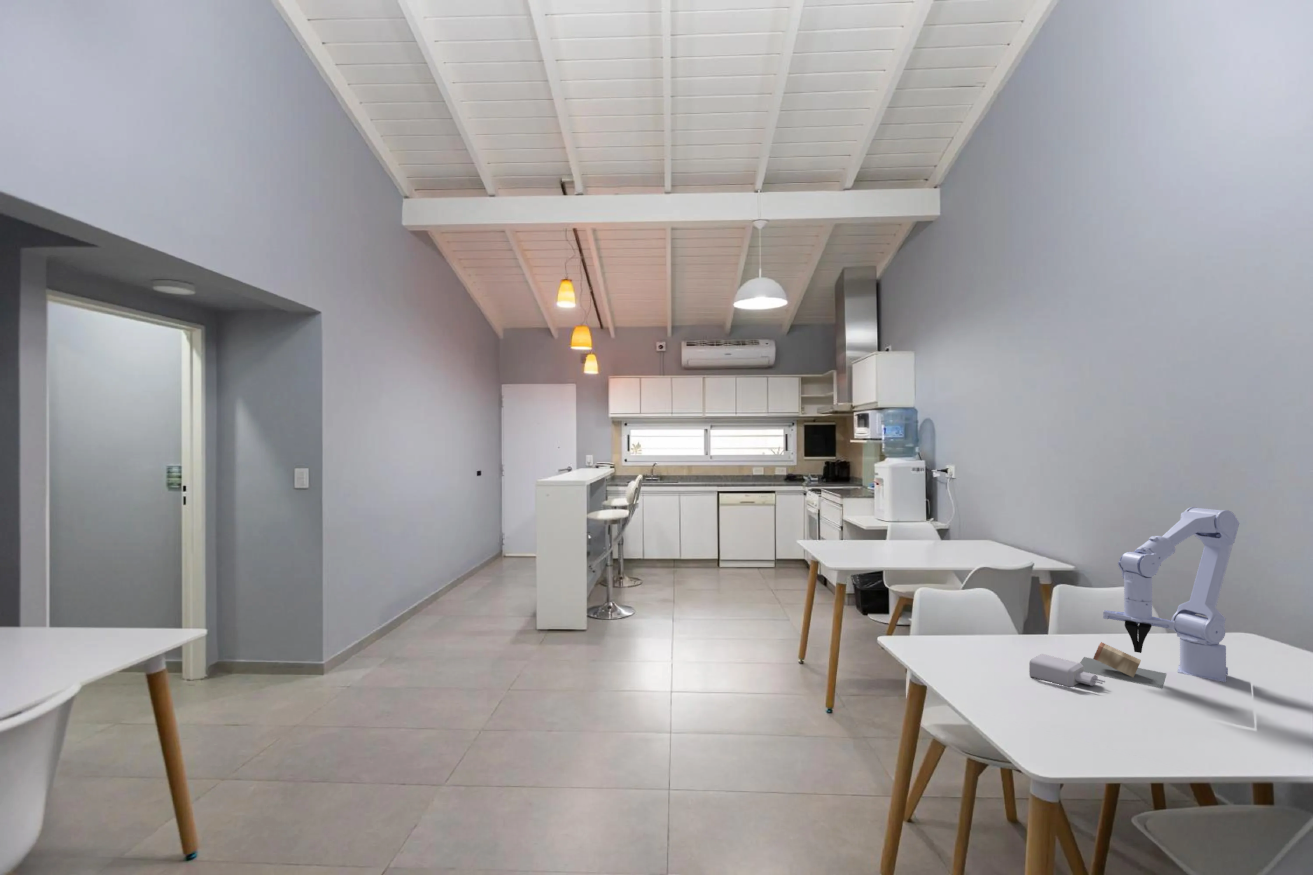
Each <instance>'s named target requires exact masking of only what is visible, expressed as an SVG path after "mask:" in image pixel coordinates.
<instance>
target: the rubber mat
mask: <svg viewBox="0 0 1313 875" xmlns="http://www.w3.org/2000/svg"><path fill="white" fill-rule="evenodd" d="M1079 663H1081V664H1082V665H1083V666H1084V672H1087V673H1090V674H1094V675H1096V676H1103V677H1106V678H1111V679H1114V680H1120V681H1124V682H1130V683H1134V684H1140V685H1144V686H1148V687H1153V688H1158V689H1163V687H1164V684H1165V680H1166V677H1167V673H1166V672H1161V671H1156V670H1152V669H1146V668H1142V667H1138V669H1137V671H1136V673H1135V675H1134V677H1131V676H1129V675H1127V674H1125V673H1123V672H1120V671H1118V670H1116V669H1114V668H1112V667H1110V666H1108V665H1106V664H1104V663H1101V662H1099V661H1097V660H1095V659H1093V657H1092V658H1091V657H1086V656H1084V657H1083V658H1082V659H1081V660H1080V662H1079Z"/></svg>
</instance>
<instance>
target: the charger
mask: <svg viewBox="0 0 1313 875" xmlns="http://www.w3.org/2000/svg"><path fill="white" fill-rule="evenodd" d="M1028 675H1029V677H1030V678H1033V677H1034V679H1037V678H1038V680H1040V679H1041V680H1040V681H1044V682H1048V683H1051V682H1052V684H1056V685H1058V684H1059V685H1060V686H1062V685H1063V687H1066V688H1074V687H1075V686H1076V685H1078V684H1082V685H1083V684H1084V685H1088V686H1091V687H1092V686H1094V685H1096V684H1101V685H1103V683H1106V680H1103V679H1099V678H1098V675H1096V674H1092V673H1087V672H1084V666H1083V665H1082V664H1081V663H1080V662H1078V661H1077V662H1076V661H1073V660H1068V659H1066V658H1065V659H1064V658H1061V657H1056V656H1053V655H1048V654H1044V653H1041V654H1038V655H1036V656H1034V657H1033V658H1030V660H1029V674H1028Z"/></svg>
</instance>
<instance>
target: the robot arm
mask: <svg viewBox="0 0 1313 875" xmlns="http://www.w3.org/2000/svg"><path fill="white" fill-rule="evenodd" d="M1179 518H1180V519H1179V521H1177V522H1176V523H1175V524H1173V526H1171V527H1170V528H1169V530H1167V531H1166V532H1165V533H1164V534H1163V535H1151V536H1150V537H1148V540H1147V541H1145V542H1144V543H1142V544H1141V545H1140V546H1138V547H1136V549H1135V550H1134V551H1127V552H1125V553H1122V555H1120V558H1119V560H1118V561H1117V564H1118V565H1117V566H1118V568H1119V570H1120V571H1121V577H1122V579H1123V583H1124V584H1123V586H1124V587H1123V592H1124V594H1123V595H1124V596H1123V597H1124V598H1123V599H1124V600H1123V601H1124V602H1123V609H1124V610H1123V611H1115V610H1114V611H1113V610H1106V609H1105V610H1103V614H1102V615H1103V617H1102V619H1104V620H1112V621H1113V620H1114V621H1119V622H1121V621H1122V622H1124V627H1125V630H1126V631H1127V633H1128V635H1129V637H1130V640H1131V643H1132V646H1133V650H1134V653H1139V654H1142V652H1143V645H1144V643H1145V640H1146V638H1147V636H1148V635H1149V633H1150V631H1151V628H1152V627H1157V628H1164V629H1168V630H1173V631H1174V632H1175V633H1176V637H1178V638H1179V664H1178V667H1177V671H1176V672H1177V673H1178V674H1183V675H1188V676H1191V677H1198V678H1203V679H1206V680H1212V681H1217V682H1222V683H1227V676H1228V675H1229V667H1227V645H1225V644H1220V643H1221V642H1222V640H1224V639H1225V636H1226V627H1225V626H1226V619H1227V618H1226V617H1225V616H1224V615H1223V614H1222V613H1221V611H1219V609H1218V608H1217V605H1218V602H1219V598H1220V595H1221V590H1222V586H1223V583H1224V579H1225V576H1226V571H1227V568H1228V564H1229V560H1230V557H1231V553H1232V549H1233V546H1234V543H1235V541H1236V537H1237V534H1238V530H1239V527H1240V522H1239V520H1238V518H1237V517H1236V514H1234V512H1233V511H1231V510H1229V509H1214V508H1211V509H1210V508H1201V507H1195V506H1190V507H1188V508H1186V509H1185V510H1184V511H1182V512H1181V513H1180V517H1179ZM1192 536H1194V537H1196V539H1198V540H1200V541H1201V542H1202V543H1203V545H1204V546H1203V549H1202V550H1203V551H1202V553H1201V558H1200V561H1199V565H1198V568H1197V572H1196V576H1195V579H1194V582H1193V586H1192V590H1191V594H1190V597H1189V600H1188V601H1185V602H1183V603H1180V604H1179V605H1178V606H1177V610H1176V612H1175V613H1174V614H1173V615H1172V617H1171V620H1170V619H1165V618H1161V617H1158V616H1157V617H1156V616H1153V577H1154V576H1156V575H1157V573H1158V572H1159V568H1160V567H1161V565H1162V563H1163V562H1165V561H1166V560H1167V559H1168V558H1170V557H1171V556H1172V555H1173V554H1175V553H1176V546H1177V545H1179V544H1181V543H1182V542H1184V541H1186V540H1187V539H1188V538H1191V537H1192Z"/></svg>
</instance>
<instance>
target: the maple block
mask: <svg viewBox="0 0 1313 875" xmlns="http://www.w3.org/2000/svg"><path fill="white" fill-rule="evenodd" d="M1092 659H1095V660H1097V661H1099V662H1101V663H1104V664H1106V665H1108V666H1110V667H1112V668H1114V669H1116V670H1118V671H1120V672H1123V673H1125V674H1127V675H1129V676H1131V677H1134V675H1135V673H1136V671H1137V669H1138V668H1139V666H1140V664H1141V659H1140V658H1137V657H1135V656H1133V655H1131V654H1129V653H1127V652H1124V651H1122V650H1119V649H1118V648H1115V647H1112V646H1110V645H1109V644H1106V643H1104V642H1102V641H1101V642H1100V643H1099V644H1098V647H1097V649H1096V652H1095V653H1094V656H1093V657H1092Z"/></svg>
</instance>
